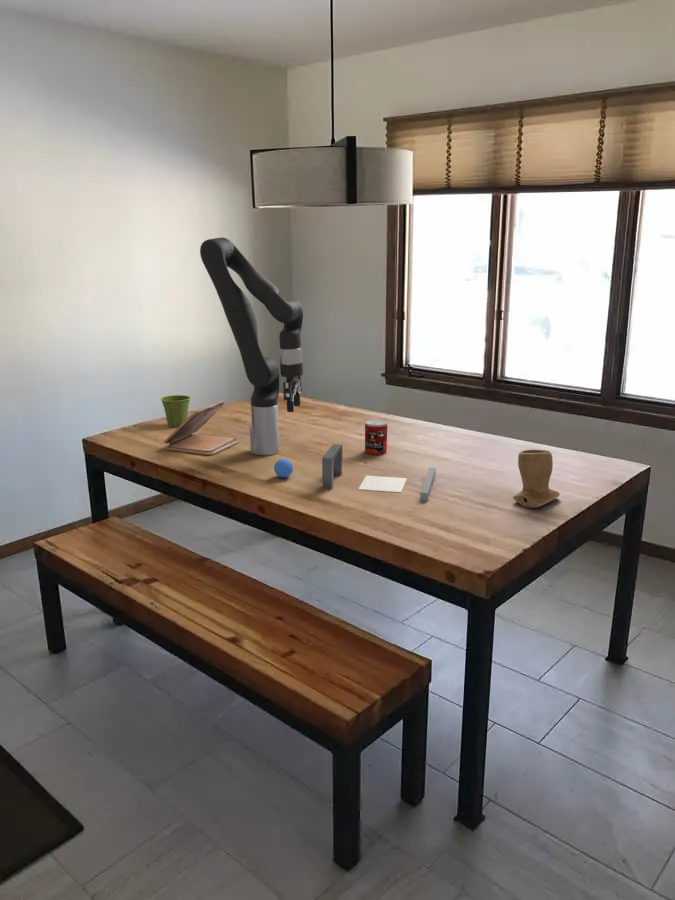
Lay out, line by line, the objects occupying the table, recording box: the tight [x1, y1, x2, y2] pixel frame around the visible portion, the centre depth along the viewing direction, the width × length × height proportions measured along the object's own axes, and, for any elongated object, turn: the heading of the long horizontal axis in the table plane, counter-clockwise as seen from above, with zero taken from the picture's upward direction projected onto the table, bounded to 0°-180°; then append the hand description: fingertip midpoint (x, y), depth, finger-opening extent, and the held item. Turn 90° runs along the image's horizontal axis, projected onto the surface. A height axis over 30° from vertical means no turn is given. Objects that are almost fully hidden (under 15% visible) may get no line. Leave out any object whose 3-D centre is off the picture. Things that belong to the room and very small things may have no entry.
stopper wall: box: [420, 467, 437, 502], centre depth 231 cm, size 2×24×2 cm, turn 167°
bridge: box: [321, 443, 343, 490], centre depth 236 cm, size 3×15×10 cm, turn 167°
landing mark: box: [358, 475, 407, 494], centre depth 234 cm, size 13×13×1 cm
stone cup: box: [512, 449, 561, 509], centre depth 218 cm, size 15×12×15 cm
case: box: [163, 399, 240, 456], centre depth 273 cm, size 20×21×16 cm
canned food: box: [364, 419, 388, 456], centre depth 265 cm, size 8×8×11 cm
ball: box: [273, 458, 294, 479], centre depth 240 cm, size 6×6×6 cm
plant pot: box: [160, 394, 192, 428], centre depth 301 cm, size 12×12×11 cm
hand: (293, 408), depth 256 cm, fingers open, 8 cm apart
